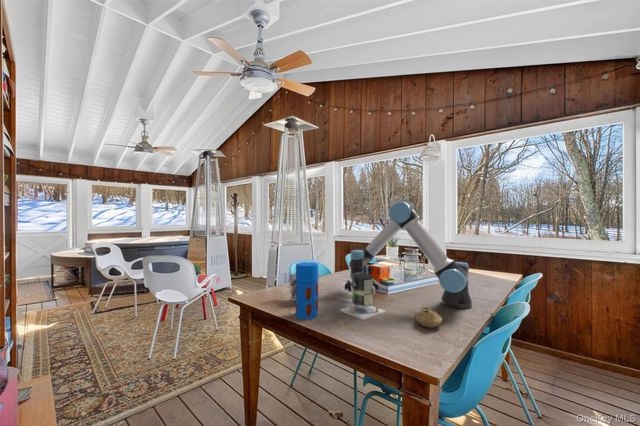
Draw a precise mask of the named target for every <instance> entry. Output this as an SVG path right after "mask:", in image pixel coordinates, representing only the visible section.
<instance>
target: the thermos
mask: <svg viewBox="0 0 640 426" xmlns="http://www.w3.org/2000/svg"><path fill="white" fill-rule="evenodd" d="M295 274H296V300H295V314H296V315H295V317H296V318H297V319H299V318H300V319H299V320H303V319H310V320H314V318H315V319H317V318H318V316H319V264H318V263H316V262H312V261H310V262H309V261H307V262H306V261H305V262H298V263H296V264H295ZM316 317H317V318H316Z"/></svg>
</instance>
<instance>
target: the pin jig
mask: <svg viewBox="0 0 640 426" xmlns="http://www.w3.org/2000/svg"><path fill="white" fill-rule="evenodd" d="M339 312H341V313H344V314H347V315H349V316H352V317H353V318H356V319H359V320H361V321H366V320H368V319H372V318H375V317H377V316H381V315H384V314H386V310H384V309H381V308H379V305H377V304H376V305H375V306H373V305H372V306H369V307H358V306H355V305H353V304H352V305H350V306H347V307H343V308H340V309H339Z"/></svg>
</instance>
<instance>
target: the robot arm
mask: <svg viewBox="0 0 640 426" xmlns="http://www.w3.org/2000/svg"><path fill="white" fill-rule="evenodd" d="M417 211H418V210H417V207H416V205H415V204H414V203H412V202H410V201H405V200H404V201H403V200H398V201H396V202H393V204H391V206H390V208H389V212H388V214H389V219H391V220H390V221H389V222H388V223H387V225H386V226H385V227H384V228H382V230H381V231H380V232H379V233H378V234H377V235H376V236H375V238H373V239H372V240H371V241H370V243H369V244H367V246H366V247H365V248H364V249H354V250H351V252H350V274H349V275H350V276H349V277H350V280H351V281H350V280H347V281H346V282H345V284H344V290H347V291H348V292H350V293H351V295H352V294H353V286H352V275H354V274H365V273H364V268H365V267H364V266H365V264H366V265H367V264H369V263H371V262H372V261H373V260H374V258H375V257H376V255H377V254H378V253H379V252H380V251H382V249H383V248H384V247H385V246H386V245H388V243H389V242H390V241H391V240H392V239H393V238H394V237H395V235H397V233H399V232H400V230H402V231H406V232H407V234H408V235H409V237H410V238H411V239H412V241H413V242H414V243H415V244H416V246H417V247H418V248H419V250H420V251H421V252H422V253H423V255H424V256H425V258H426V259H427V261H428V262H429V263H430V264H431V265H432V267H433V269H434V270H433V273H434V275H435V276H436V277H437V279H438V282H439V284H440V286H441V288H442V289H443V293H442V296H441V304H442V305H444V306H446V307H449V308H454V309H471V308H472V307H473V301H472V297H471V295H470V291H469V270H470V267H469V264H468V263H467V262H462V261H461V262H460V261H456V260H454V259H451V258H449V257H448V256H447V255H446V253H445V252H444V250H442V248H441V246H440V245H439V244H438V242H436V241H435V239H434V238H433V237H432V235H431V234H430V233H429V231H428V230H427V229H426V227H424V225H423V223H422V222H421V221H420V220H421V219H420V215H419V214H418V212H417ZM379 287H380V286H379V284H377V283H375V282H374V281H373V288H372V295H376V292H377V291H379Z"/></svg>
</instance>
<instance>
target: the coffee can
mask: <svg viewBox="0 0 640 426" xmlns="http://www.w3.org/2000/svg"><path fill="white" fill-rule="evenodd" d="M373 279H374V276H373V275H372V274H365V273H364V274H354V275H352V280H351V282H352V286H353V294H351V296H352V297H351V299H352V300H351V305H352V306H353V305H355V306H358V307H369V306H372V307H373V292H372V288H373V282H374V281H373Z"/></svg>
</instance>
